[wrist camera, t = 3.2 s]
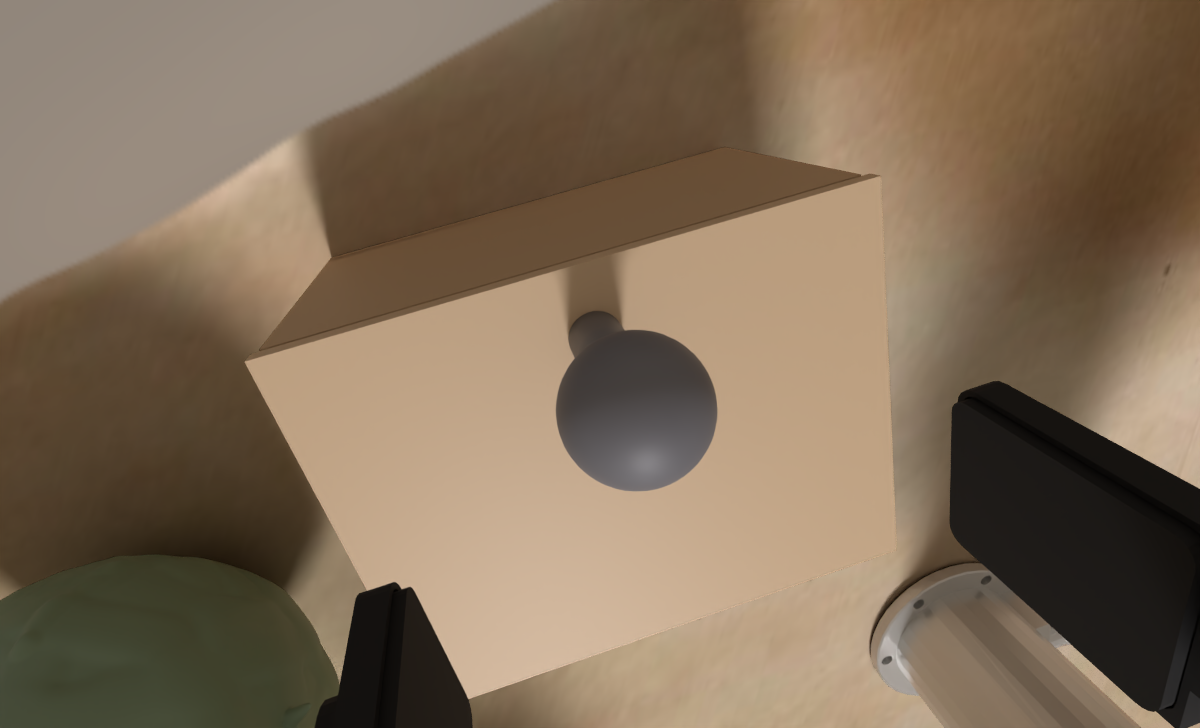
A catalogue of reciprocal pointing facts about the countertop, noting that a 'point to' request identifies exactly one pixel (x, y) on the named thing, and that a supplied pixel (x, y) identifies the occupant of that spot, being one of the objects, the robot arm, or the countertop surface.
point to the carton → (542, 236)
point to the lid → (611, 434)
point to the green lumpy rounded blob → (159, 649)
